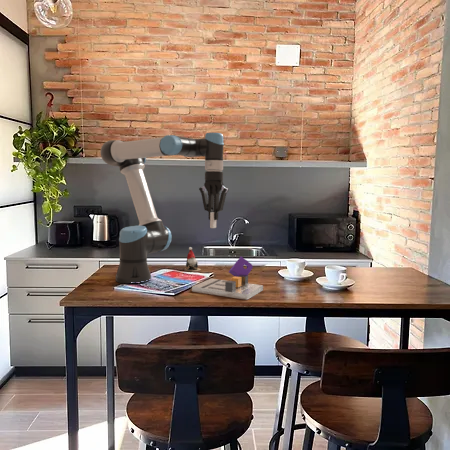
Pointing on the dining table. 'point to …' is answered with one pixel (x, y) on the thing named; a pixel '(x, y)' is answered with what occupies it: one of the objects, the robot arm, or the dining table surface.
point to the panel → (225, 293)
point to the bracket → (241, 267)
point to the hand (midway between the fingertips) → (213, 227)
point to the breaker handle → (237, 280)
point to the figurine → (191, 261)
